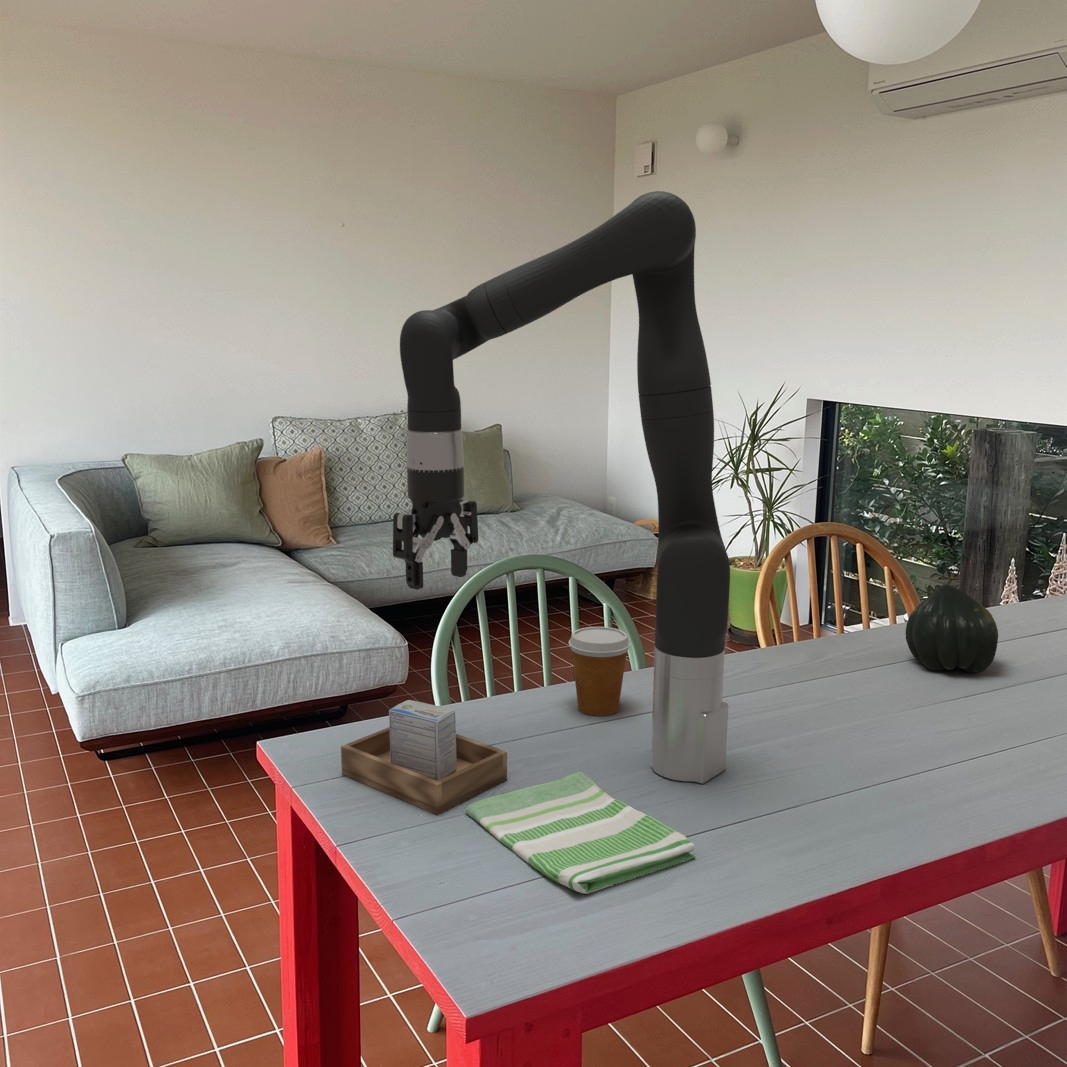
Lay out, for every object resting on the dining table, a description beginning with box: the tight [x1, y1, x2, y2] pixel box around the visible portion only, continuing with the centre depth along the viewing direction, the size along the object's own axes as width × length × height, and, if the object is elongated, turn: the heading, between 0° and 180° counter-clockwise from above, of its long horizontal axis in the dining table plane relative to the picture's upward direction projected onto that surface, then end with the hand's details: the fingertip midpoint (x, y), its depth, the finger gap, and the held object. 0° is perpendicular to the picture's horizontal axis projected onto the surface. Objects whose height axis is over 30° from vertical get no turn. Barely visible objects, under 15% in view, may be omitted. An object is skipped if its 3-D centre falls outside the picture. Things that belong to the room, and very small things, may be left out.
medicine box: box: [388, 699, 457, 781], centre depth 139 cm, size 8×4×9 cm, turn 60°
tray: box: [340, 727, 508, 816], centre depth 140 cm, size 18×13×4 cm
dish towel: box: [465, 771, 696, 895], centre depth 125 cm, size 18×23×3 cm
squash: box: [905, 583, 999, 674], centre depth 184 cm, size 14×15×15 cm
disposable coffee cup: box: [568, 626, 631, 716], centre depth 163 cm, size 10×10×12 cm
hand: (437, 582), depth 143 cm, fingers open, 8 cm apart
